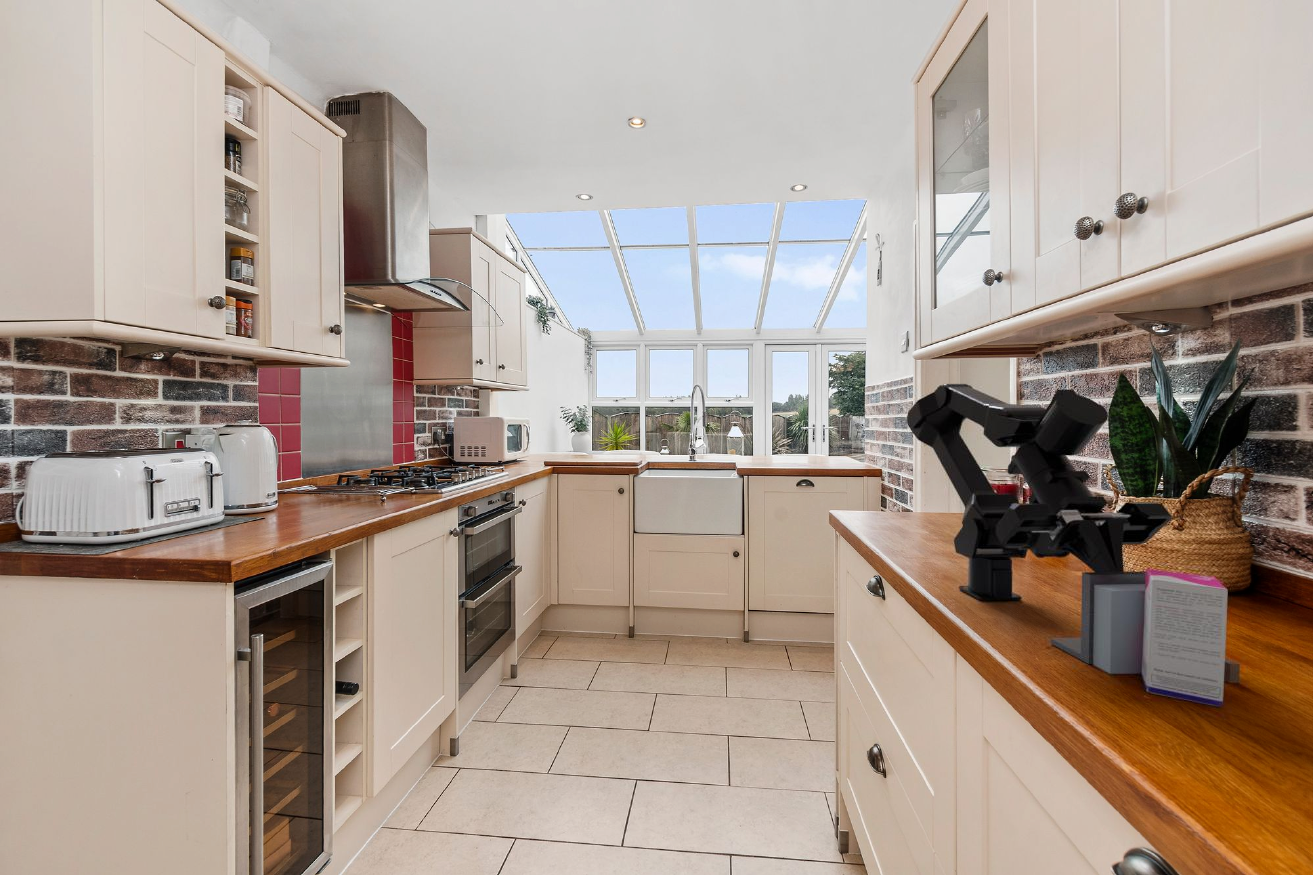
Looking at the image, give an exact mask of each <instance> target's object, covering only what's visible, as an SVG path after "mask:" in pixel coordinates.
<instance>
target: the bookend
mask: <svg viewBox="0 0 1313 875" xmlns="http://www.w3.org/2000/svg"><path fill="white" fill-rule="evenodd" d="M1145 579H1146V570H1144V571H1142V570H1141V571H1124V572H1094V571H1084V572H1083V571H1082V572H1081V619H1080V622H1081V626H1080V627H1081V628H1080V637H1061V638H1060V637H1058V638H1057V637H1053V638H1052V637H1051V638H1050V639H1049V640H1050V642H1049V644H1051V645H1052V646H1054V647H1057V648H1058V649H1060V650H1062V651H1064V652H1065V653H1068V654H1070V656H1073V657H1075V658H1077V659H1079V660H1080V661H1082V662H1084V663H1086V664H1088V665H1093V639H1094V585H1113V584H1145Z"/></svg>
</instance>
